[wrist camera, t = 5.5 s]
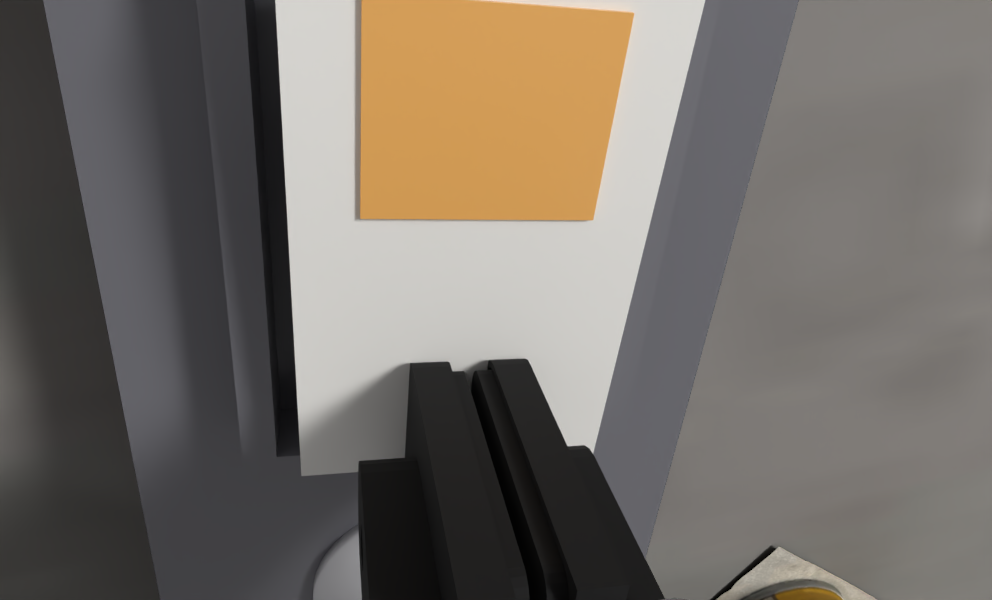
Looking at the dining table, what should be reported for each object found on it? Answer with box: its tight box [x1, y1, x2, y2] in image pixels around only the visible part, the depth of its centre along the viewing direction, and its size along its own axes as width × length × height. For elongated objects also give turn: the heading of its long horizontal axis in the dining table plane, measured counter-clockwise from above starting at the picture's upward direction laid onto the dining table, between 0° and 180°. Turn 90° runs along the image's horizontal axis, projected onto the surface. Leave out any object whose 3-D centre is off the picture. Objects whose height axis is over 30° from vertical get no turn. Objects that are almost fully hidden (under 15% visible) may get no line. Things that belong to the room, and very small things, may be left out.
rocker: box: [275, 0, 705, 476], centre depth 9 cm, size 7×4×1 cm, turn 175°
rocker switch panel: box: [43, 0, 799, 600], centre depth 14 cm, size 32×10×5 cm, turn 175°
